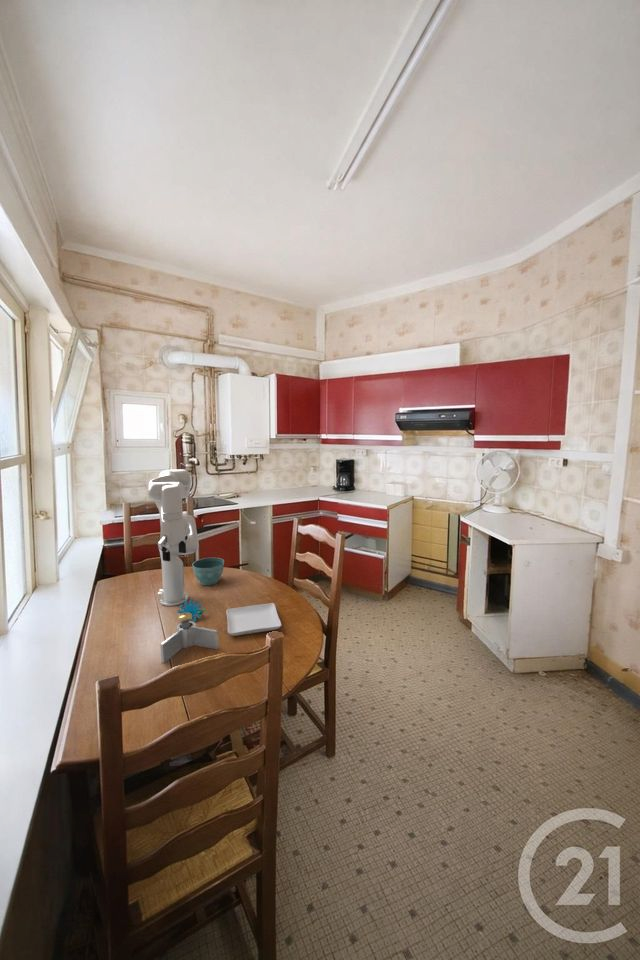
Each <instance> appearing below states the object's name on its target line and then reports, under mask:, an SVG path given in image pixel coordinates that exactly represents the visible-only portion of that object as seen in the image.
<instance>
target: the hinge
mask: <svg viewBox="0 0 640 960" xmlns="http://www.w3.org/2000/svg"><path fill="white" fill-rule="evenodd" d="M176 625H177V626H176V631H175V632H174V633H172V634H171V635H170V636H169V637H168V638H166V639H165V640H163V641H162V642H161V643H160V644H159V645H160V658H161V659H160V661H161V663H162V664H165V663H166V662H168V661H169V659H171V658H172V657H173V656H174V655H176V654H177V653H178V652H179V651H181V650H182V649H184V648H191V647H192V646H196V647H203V648H206V649H212V650H215V651H216V650H218V649H219V639H218V638H219V637H218V633H219V632H218V630H216V629H212V628H208V627H207V628H206V627H202V626H201V627H200V626H197V625H196V621H195V622H193V620H191V621H190V627H189V628H185V629H183V628H181V622H179V623H178V624H176Z"/></svg>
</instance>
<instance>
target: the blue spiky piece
mask: <svg viewBox="0 0 640 960" xmlns="http://www.w3.org/2000/svg"><path fill="white" fill-rule="evenodd" d="M193 601H194V599H189V603H188V600H187V601H184V603H182V604H179V609H178V610H177V613H178V614H181V613H185V612H190V613H192V618H191V619H190V621H193V622H195V623H196V622H197V618H198V619H200V618H201V616H202V614H204V612H205V611H206V608H202V604H201V603H200V604H199V601H198V600H197V599H196V600H195V601H194V602H193ZM183 604H184V605H183ZM183 606H184V607H183ZM201 608H202V609H201ZM181 609H182V610H181ZM196 615H197V618H196ZM192 619H193V620H192Z"/></svg>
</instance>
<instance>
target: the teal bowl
mask: <svg viewBox="0 0 640 960" xmlns="http://www.w3.org/2000/svg"><path fill="white" fill-rule="evenodd" d="M224 564H225V560H224V559H223V558H220V557H206V558H205V557H204V558H201V559H197V560H195V561H194V562H193V563H192V570H193V573H194V576H195V578H196V580H198V581H199V583H200V585H202V586H212V585H215V584H217V583H218V582H219V580H220V578H221V577H222V574H223V572H224V566H225V565H224Z"/></svg>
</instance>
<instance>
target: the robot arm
mask: <svg viewBox="0 0 640 960" xmlns="http://www.w3.org/2000/svg"><path fill="white" fill-rule="evenodd" d="M191 482H192V478H191V474H190V472H189V471H188V470H187V469H184V468H183V469H182V468H181V469H178V468H177V469H165V470H162V471H161V472H160V473H159V474H158V476H157V477H155V478H153V479H151V480H150V481H148V485H147V495H148V498H149V499H150V500H151V501H153V502H154V503H155V505H156V508H157V509H158V512H159V524H160V533H159V534H160V535H159V536H160V537H159V538H160V539H159V541H158V542H157V546H158V550H159V556H160V560H161V561H160V562H161V575H162V576H161V577H162V579H161V580H162V588H159V590H158V592H157V596H161V598H160V600H159V603H160V605H162V606H166V607H174V606H180V605H181V604H182V605H183V604H184V601H187V602H188V600H189V595H188V594H187V593H186V591H185V570H184V563H183V561H182V559H181V558H180V557H179V556H182V555H191V554H194V553H197V551H198V550H199V538H198V531H197V524H196V519H195V517H194V516H193V515H191V514H183V499H185V498H188V497H189V496H190V493H191V485H192V483H191Z"/></svg>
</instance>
